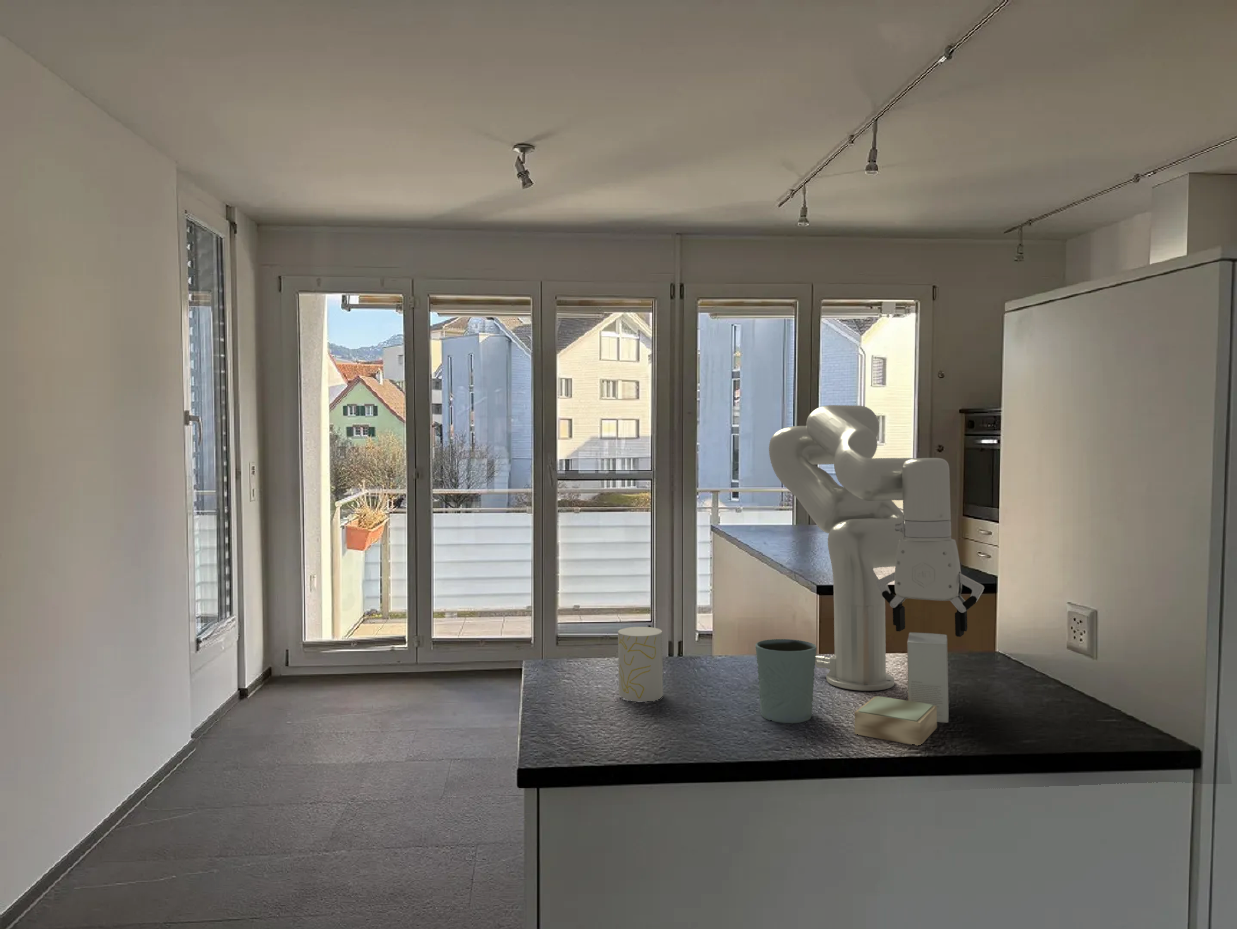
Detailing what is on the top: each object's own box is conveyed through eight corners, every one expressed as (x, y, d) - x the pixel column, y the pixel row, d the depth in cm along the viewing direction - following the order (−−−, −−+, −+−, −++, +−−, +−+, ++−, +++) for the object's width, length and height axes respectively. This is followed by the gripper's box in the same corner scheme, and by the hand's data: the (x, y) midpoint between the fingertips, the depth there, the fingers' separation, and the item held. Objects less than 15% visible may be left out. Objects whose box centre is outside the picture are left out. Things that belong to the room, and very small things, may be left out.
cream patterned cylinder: (612, 700, 151) (611, 634, 150) (628, 688, 158) (627, 625, 158) (654, 704, 147) (653, 637, 147) (668, 692, 155) (668, 628, 155)
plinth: (854, 734, 130) (854, 710, 130) (874, 717, 139) (874, 695, 139) (920, 746, 125) (919, 721, 125) (936, 727, 133) (936, 704, 133)
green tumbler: (751, 720, 138) (750, 649, 138) (762, 703, 147) (761, 636, 147) (813, 727, 134) (812, 653, 134) (820, 709, 144) (819, 640, 144)
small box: (909, 705, 145) (908, 631, 145) (948, 709, 142) (947, 634, 142) (907, 719, 137) (906, 641, 137) (948, 723, 135) (947, 644, 135)
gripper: (869, 531, 141) (871, 631, 141) (977, 533, 132) (979, 641, 131) (882, 528, 148) (884, 625, 147) (986, 530, 138) (989, 633, 137)
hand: (929, 632), depth 139 cm, fingers open, 9 cm apart
